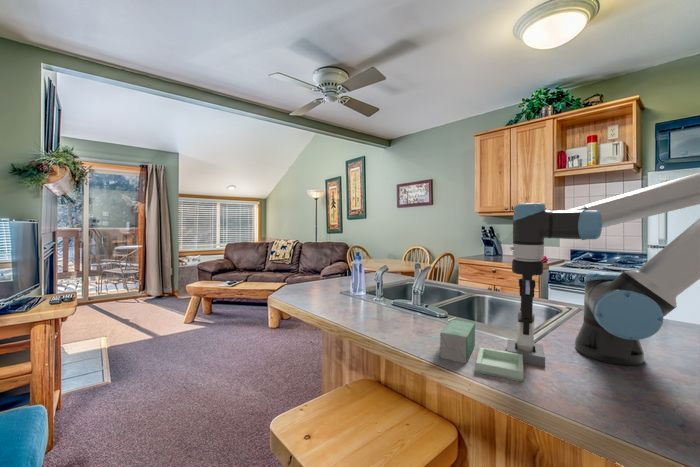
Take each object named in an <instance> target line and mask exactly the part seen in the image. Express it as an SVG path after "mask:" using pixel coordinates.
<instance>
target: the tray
mask: <svg viewBox="0 0 700 467" xmlns="http://www.w3.org/2000/svg"><path fill="white" fill-rule="evenodd" d="M475 364H476V365H475V372H476V373H477V374H478V373H479V374H484V375H488V376H493V377H497V378H502V379H507V380H512V381H517V382H521V383H524V363H523V355H522V354H518V353H512V352H507V350H501V349H499V350H498V349H494V348H487V347H482V346H481V347H479V350H478V354H477V358H476V362H475Z"/></svg>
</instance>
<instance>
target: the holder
mask: <svg viewBox="0 0 700 467" xmlns="http://www.w3.org/2000/svg"><path fill="white" fill-rule="evenodd" d="M506 352H512V353H518V354H522V355H523V364H528V365H534V366H538V367H539V366H540V367H544V368H545V367H546V355H545V350H544V346H543V344H541V343H535V342H534V343H533V352H527V351H521V350H517V339H516V340H515V339H514V340H513V339H508V338H507V342H506Z"/></svg>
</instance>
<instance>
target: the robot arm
mask: <svg viewBox="0 0 700 467" xmlns="http://www.w3.org/2000/svg"><path fill="white" fill-rule="evenodd" d="M699 205H700V172H697V173H693V174H690V175H686V176H683V177H679V178H675V179H672V180H669V181H668V180H667V181H665V182H662V183H658V184H653V185H650V186H647V187H644V188H640V189H639V188H638V189H637V190H633V191H630V192H626V193H622V194H618V195H615V196H613V197H608V198H604V199H601V200H597V201H593V202H591V203H586V204H584V205H580V206H577V207H573V208H569V209H564V210H563V209H561V210H551V209H549V210H548V209H547V208H546V205H545V204H544V203H543V202H535V203H534V202H529V203H528V202H527V203H525V202H524V203H517V204H516V205H515V206H513V216H512V217H513V218H512V246H510V247H509V249H510V251H512V260H511V272H512V273H514V274H516V275H521V276H522V277H521V278H518V286H519V287H518V288H519V297H520V308H519V310H520V312H521V320H519V319H518V318H517V323H518V322H520V345H524V346H530V347H531V337H532V322H533V320H532V314H533V302H534V301H533V300H534V297H535V288H536V280H535V279H533V276H536V277H537V276H541V275H543V274H544V262H543V261H542V260H543V259H544V258H545V239H557V240H558V239H560V240H582V241H585V240H598V239H599V238H600V237H601V235H602V229H603V228H608V227H611V226H617V225H620V224H623V223H627V222H632V221H636V220H640V219H644V218H647V217H648V218H649V217H653V216H657V215H660V214H664V213H669V212H673V211H677V210H680V209H681V210H682V209H685V208H688V207H689V208H690V207H694V206H699ZM513 258H514V259H513ZM699 280H700V217H699V218H698V219H697V220H695V222H693V223H692V224H691V225H689V227H687V228H686V229H685V230H683V232H681V233H680V234H679V235H678V236H677V237H675V238H674V239H673V240H672V241H670V242H669V243H668V244H667V245H665V247H663V248H662V249H661V250H659V251H658V252H657V253H656V254H655V255H653V256H652V257H651V258H650V259H649V260H648V261H646V262H645V263H644V264H642V265H641V267H639V268H638V269H636V270H624V271H623V272H621V273H619V274H618V273H605V272H588V273H586V274H585V278H584V281H583V284H584V300H583V301H584V302H583V322H582V324H581V327H580V329H579V332H578V334H577V335H576V337H575V342H574V345H575V346H574V348H575V349H576V351H578V352H579V353H580V354H582V355H584V356H586V357H589V358H591V359H594V360H597V361H600V362H604V363H608V364H613V365H620V366H638V365H641V364H643V363H644V360H645V357H644V356H645V353H644V350H643V347H642V344H641V340H644V339H649V338H650V337H653V336H654V335H655V334H657V333H658V332H659V331H660V330H661V328H662V326H663V323H664V318H665V316H667V315H668V314H670V313H671V312H672V311H673V310H675V309H676V308H677V307H678V305H677V297H678V296H679V295H680V294H682V293H683V292H684V291H685V290H687V289H688V288H690V287H691V286H693V285H694V284H695V283H696V282H698V281H699Z"/></svg>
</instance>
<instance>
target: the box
mask: <svg viewBox="0 0 700 467" xmlns="http://www.w3.org/2000/svg"><path fill="white" fill-rule="evenodd" d="M439 334H440V335H439V336H440V340H439V342H440V343H439V344H440V345H439V357H440V358H441V359H442V360H443V359H444V360H448V361H453V362H457V363H462V364H466V363H468V360H469V359H470V356H471V355H472V352H473V350H474V348H475V346H476V344H475V343H476V339H475V338H476V323H474V322H470V321H462V320H456V319H451V320H450V321H449V322H448V323H447V324H446V325H445V327H444V328H443V329H442V330H441V331H440V333H439Z"/></svg>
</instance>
